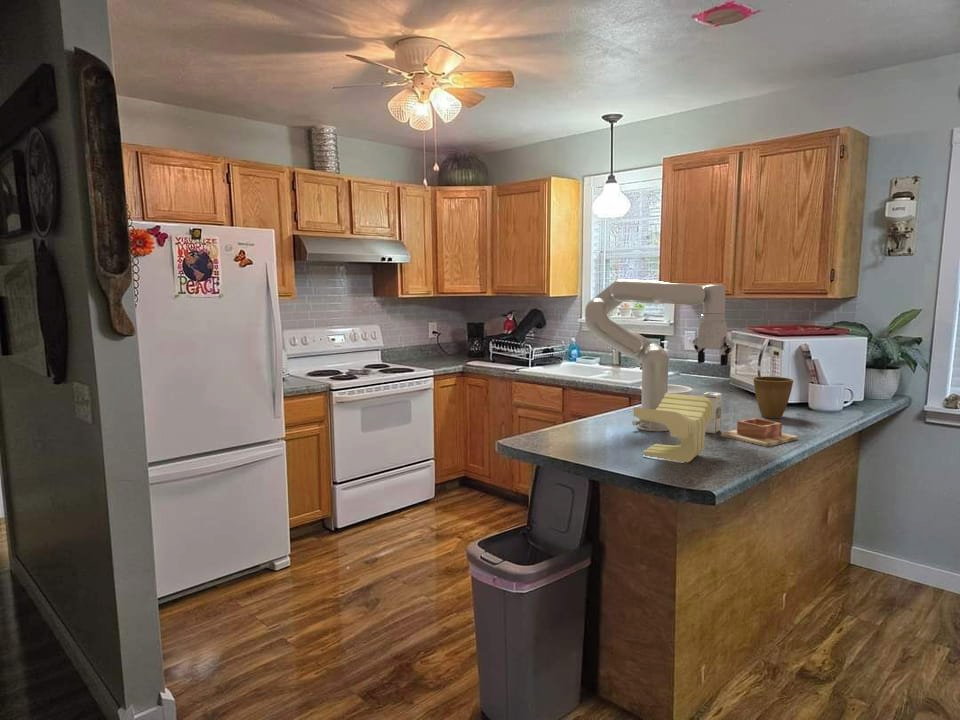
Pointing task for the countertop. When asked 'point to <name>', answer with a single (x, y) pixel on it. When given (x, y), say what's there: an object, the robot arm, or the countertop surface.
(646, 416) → the slatted curved stool
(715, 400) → the syrup box
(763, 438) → the terracotta box on board
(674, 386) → the soup bowl
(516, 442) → the countertop surface
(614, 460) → the countertop surface
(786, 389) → the plant pot
